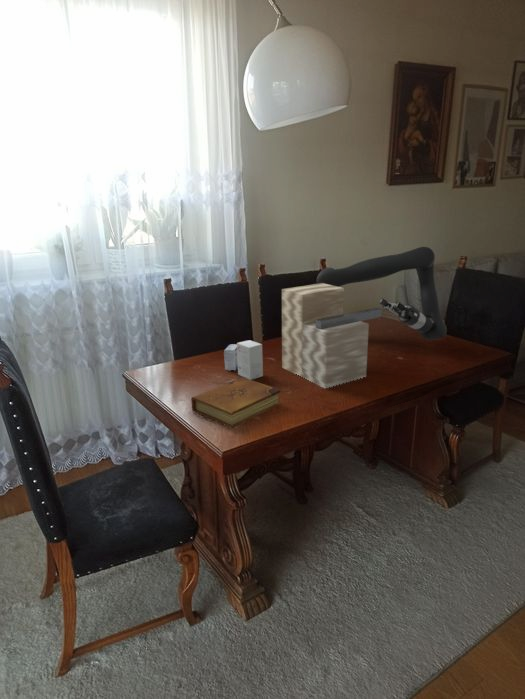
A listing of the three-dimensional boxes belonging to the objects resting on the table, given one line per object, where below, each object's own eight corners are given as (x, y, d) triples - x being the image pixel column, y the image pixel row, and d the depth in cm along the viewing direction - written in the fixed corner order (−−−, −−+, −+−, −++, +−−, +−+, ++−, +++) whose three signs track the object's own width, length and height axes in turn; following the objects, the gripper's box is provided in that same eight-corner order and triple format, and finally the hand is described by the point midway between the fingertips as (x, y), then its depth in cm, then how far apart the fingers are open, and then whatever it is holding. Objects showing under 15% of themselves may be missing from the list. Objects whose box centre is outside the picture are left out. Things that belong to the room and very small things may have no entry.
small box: (263, 376, 194) (262, 344, 190) (250, 380, 190) (249, 347, 186) (250, 370, 200) (249, 339, 196) (237, 374, 196) (236, 342, 192)
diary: (241, 391, 182) (240, 376, 180) (280, 405, 170) (280, 389, 168) (192, 412, 166) (191, 395, 164) (231, 429, 154) (231, 411, 152)
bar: (315, 327, 181) (315, 319, 180) (375, 315, 197) (376, 307, 196) (320, 329, 179) (321, 321, 178) (381, 316, 194) (381, 309, 193)
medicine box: (235, 371, 200) (234, 350, 197) (224, 370, 201) (223, 349, 198) (240, 364, 207) (239, 344, 205) (229, 363, 208) (229, 343, 206)
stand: (282, 367, 203) (281, 289, 193) (320, 358, 213) (322, 283, 203) (325, 388, 181) (327, 301, 171) (366, 377, 192) (370, 294, 182)
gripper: (402, 305, 212) (379, 291, 202) (430, 312, 201) (407, 297, 191) (395, 322, 212) (372, 308, 203) (422, 329, 201) (398, 315, 191)
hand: (389, 302), depth 197 cm, fingers open, 8 cm apart
